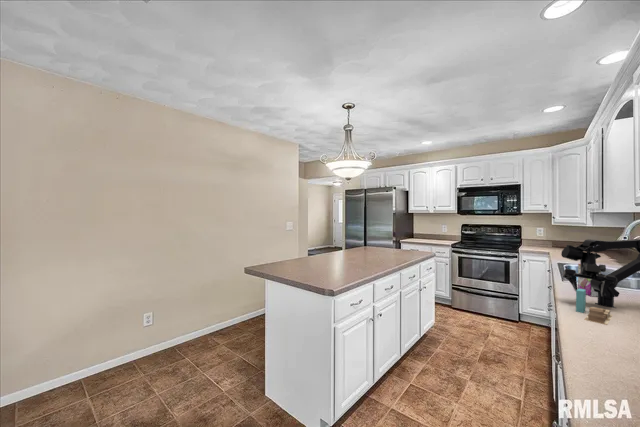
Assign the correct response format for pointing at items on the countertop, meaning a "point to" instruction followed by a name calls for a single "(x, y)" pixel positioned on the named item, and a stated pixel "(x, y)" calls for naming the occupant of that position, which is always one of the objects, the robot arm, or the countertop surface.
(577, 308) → the teal panel
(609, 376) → the countertop surface
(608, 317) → the rack
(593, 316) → the offcut stack
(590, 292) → the candy bar box
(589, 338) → the countertop surface
